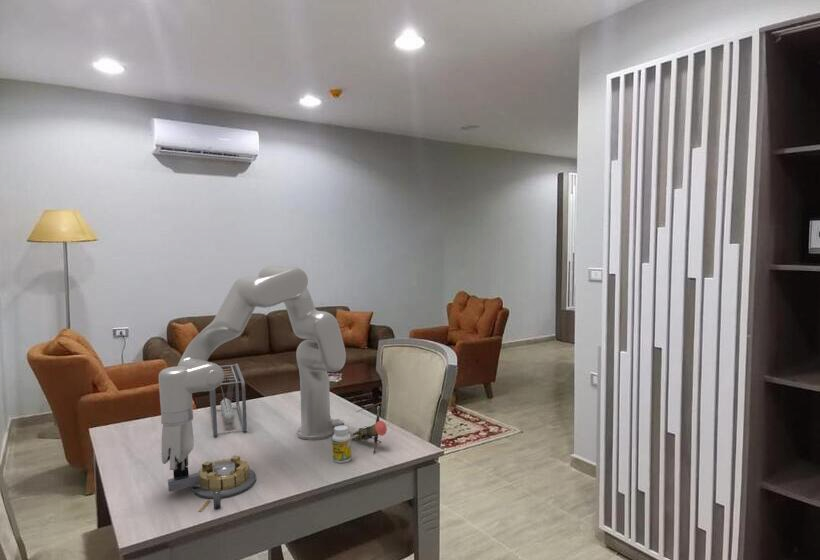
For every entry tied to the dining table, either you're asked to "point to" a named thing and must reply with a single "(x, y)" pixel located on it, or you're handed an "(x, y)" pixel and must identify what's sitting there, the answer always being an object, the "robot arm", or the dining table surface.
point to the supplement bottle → (341, 444)
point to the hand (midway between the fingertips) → (181, 483)
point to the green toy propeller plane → (371, 430)
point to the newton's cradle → (229, 402)
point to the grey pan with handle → (213, 477)
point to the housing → (217, 495)
